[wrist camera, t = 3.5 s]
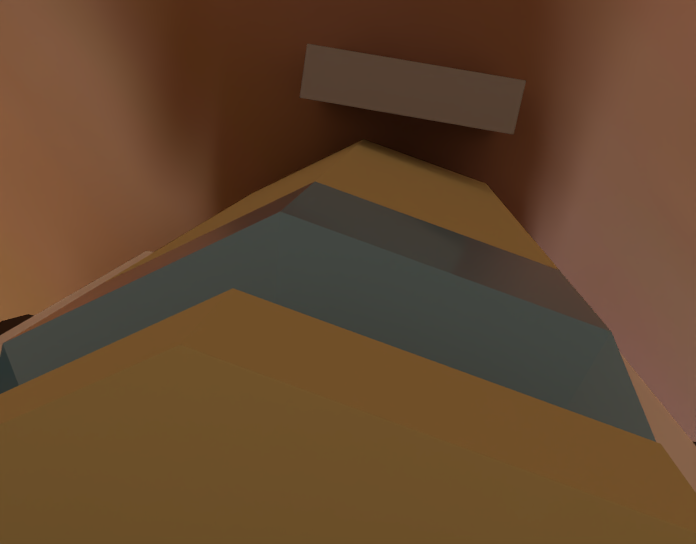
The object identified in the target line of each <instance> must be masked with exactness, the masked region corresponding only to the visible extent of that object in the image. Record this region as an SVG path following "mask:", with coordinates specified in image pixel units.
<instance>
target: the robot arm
mask: <svg viewBox="0 0 696 544" xmlns="http://www.w3.org/2000/svg"><path fill="white" fill-rule="evenodd" d="M152 253H154V252H151V251H145V252H143V253H142V254H140V255H138V256H136V257H135V258H133V259H131V260H130V261H128V262H126V263H124V264H123V265H121V266H119V267H117V268H116V269H114V270H112V271H111V272H109V273H107V274H105V275H104V276H102V277H100V278H98V279H97V280H95V281H93V282H92V283H90V284H88V285H86V286H85V287H83V288H81V289H79V290H78V291H76V292H74V293H73V294H71V295H69V296H67V297H66V298H64V299H62V300H60V301H59V302H57V303H55V304H53V305H52V306H50V307H48V308H47V309H45V310H43V311H41V312H40V313H38V314H36V315H29V314H27V315H24V316H20V317H16V318H12V319H8V320H5V321H2V322H0V354H1V349H2V344H3V343H4V342H6V341H7V340H9V339H11V338H12V337H14V336H16V335H17V334H19V333H21V332H22V331H24V330H26V329H27V328H29V327H31V326H32V325H34V324H36V323H37V322H39V321H40V320H42V319H44V318H45V317H47V316H49V315H50V314H52V313H54V312H55V311H57V310H59V309H60V308H62V307H64V306H65V305H67V304H69V303H70V302H72V301H74V300H75V299H77V298H79V297H80V296H82V295H84V294H85V293H87V292H89V291H90V290H92V289H94V288H95V287H97V286H99V285H100V284H102V283H104V282H105V281H107V280H109V279H110V278H112V277H114V276H115V275H117V274H119V273H120V272H122V271H124V270H125V269H127V268H129V267H130V266H132V265H134V264H135V263H137V262H139V261H140V260H142V259H144V258H145V257H147V256H149V255H150V254H152ZM620 354H621V353H620ZM621 357H622V359H623V362H624V364H625V366H626V369H627V371H628V374H629V376H630V379H631V381H632V384H633V386H634V389H635V391H636V393H637V396H638V398H639V401H640V403H641V406H642V408H643V411H644V413H645V415H646V418H647V420H648V423H649V425H650V428H651V430H652V433H653V435H654V437H655V440H656V442H657V443H660V444H661V445H662V446H663V448H664V449H665V450H666V452H667V453H668V455H669V456H670V457H671V459H672V460H673V462H674V463H675V464H676V466H677V467H678V469H679V470H680V471H681V473H682V474H683V476H684V477H685V478H686V480H687V481H688V483H689V484H690V485H691V487H692V488H693V490H694V491H695V492H696V442H693V441H691V439H690V438H689V437H688V436H687V434H686V433H685V432H684V431H683V430H682V428H681V427H680V426H679V425H678V423H677V422H676V421H675V420H674V418H673V417H672V416H671V415H670V414H669V412H668V411H667V410H666V409H665V407H664V406H663V405H662V404H661V402H660V401H659V400H658V399H657V398H656V396H655V395H654V394H653V393H652V391H651V390H650V389H649V388H648V386H647V385H646V384H645V383H644V382H643V380H642V379H641V378H640V377H639V375H638V374H637V373H636V372H635V370H634V369H633V368H632V367H631V366H630V364H629V363H628V362H627V361H626V359H625V358H624V357H623V356H622V354H621Z"/></svg>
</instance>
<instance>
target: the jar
mask: <svg viewBox="0 0 696 544" xmlns="http://www.w3.org/2000/svg"><path fill="white" fill-rule="evenodd" d="M0 544H696V492H695V491H694V490H693V488H692V487H691V485H690V484H689V483H688V481H687V480H686V478H685V477H684V476H683V474H682V473H681V471H680V470H679V469H678V467H677V466H676V464H675V463H674V462H673V460H672V459H671V457H670V456H669V455H668V453H667V452H666V450H665V449H664V448H663V446H662V445H661V444H660V443H657V442H656V440H655V437H654V435H653V433H652V430H651V428H650V425H649V423H648V420H647V418H646V415H645V413H644V411H643V408H642V406H641V403H640V401H639V398H638V396H637V393H636V391H635V389H634V386H633V384H632V381H631V379H630V376H629V374H628V371H627V369H626V366H625V364H624V362H623V359H622V357H621V354H620V352H619V349H618V347H617V344H616V342H615V340H614V337H613V335H612V332H611V331H610V330H609V328H608V327H607V326H606V325H605V324H604V322H603V321H602V320H601V319H600V318H599V317H598V315H597V314H596V313H595V312H594V311H593V309H592V308H591V307H590V306H589V305H588V304H587V302H586V301H585V300H584V299H583V298H582V296H581V295H580V294H579V293H578V292H577V291H576V289H575V288H574V287H573V286H572V285H571V283H570V282H569V281H568V280H567V279H566V278H565V276H564V275H563V274H562V273H561V272H560V270H559V269H558V268H557V267H556V266H555V265H554V263H553V262H552V261H551V260H550V259H549V257H548V256H547V255H546V254H545V253H544V252H543V250H542V249H541V248H540V247H539V246H538V244H537V243H536V242H535V241H534V240H533V239H532V237H531V236H530V235H529V234H528V233H527V231H526V230H525V229H524V228H523V227H522V226H521V224H520V223H519V222H518V221H517V220H516V218H515V217H514V216H513V215H512V214H511V212H510V211H509V210H508V209H507V208H506V207H505V205H504V204H503V203H502V202H501V201H500V199H499V198H498V197H497V196H496V195H495V194H494V192H493V191H492V190H491V189H490V188H489V186H488V185H487V184H486V183H483V182H480V181H477V180H475V179H472V178H469V177H466V176H464V175H461V174H458V173H455V172H453V171H450V170H447V169H444V168H442V167H439V166H436V165H433V164H431V163H428V162H425V161H422V160H420V159H417V158H414V157H411V156H409V155H406V154H403V153H400V152H398V151H395V150H392V149H389V148H387V147H384V146H381V145H378V144H376V143H373V142H370V141H367V140H365V139H363V140H361V141H359V142H357V143H355V144H353V145H351V146H349V147H347V148H345V149H342V150H340V151H338V152H336V153H334V154H332V155H330V156H328V157H326V158H324V159H322V160H320V161H318V162H316V163H314V164H312V165H310V166H307V167H305V168H303V169H301V170H299V171H297V172H295V173H293V174H291V175H289V176H287V177H285V178H283V179H281V180H279V181H277V182H275V183H272V184H270V185H268V186H266V187H264V188H262V189H260V190H258V191H256V192H254V193H252V194H250V195H248V196H247V197H245V198H243V199H242V200H240V201H238V202H237V203H235V204H233V205H232V206H230V207H228V208H227V209H225V210H223V211H222V212H220V213H218V214H217V215H215V216H213V217H212V218H210V219H208V220H207V221H205V222H203V223H202V224H200V225H198V226H197V227H195V228H194V229H192V230H190V231H189V232H187V233H185V234H184V235H182V236H180V237H179V238H177V239H175V240H174V241H172V242H170V243H169V244H167V245H165V246H164V247H162V248H160V249H159V250H157V251H155V252H154V253H152V254H150V255H149V256H147V257H145V258H144V259H142V260H140V261H139V262H137V263H135V264H134V265H132V266H130V267H129V268H127V269H125V270H124V271H122V272H120V273H119V274H117V275H115V276H114V277H112V278H110V279H109V280H107V281H105V282H104V283H102V284H100V285H99V286H97V287H95V288H94V289H92V290H90V291H89V292H87V293H85V294H84V295H82V296H80V297H79V298H77V299H75V300H74V301H72V302H70V303H69V304H67V305H65V306H64V307H62V308H60V309H59V310H57V311H55V312H54V313H52V314H50V315H49V316H47V317H45V318H44V319H42V320H40V321H39V322H37V323H36V324H34V325H32V326H31V327H29V328H27V329H26V330H24V331H22V332H21V333H19V334H17V335H16V336H14V337H12V338H11V339H9V340H7V341H6V342H4V343H3V344H2V349H1V354H0Z"/></svg>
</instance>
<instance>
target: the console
mask: <svg viewBox="0 0 696 544" xmlns="http://www.w3.org/2000/svg"><path fill="white" fill-rule="evenodd" d="M525 83H526V80H520V79H514V78H508V77H502V76H496V75H491V74H485V73H479V72H473V71H467V70H461V69H455V68H449V67H443V66H437V65H431V64H425V63H419V62H414V61H408V60H402V59H396V58H390V57H384V56H378V55H372V54H366V53H360V52H354V51H348V50H342V49H337V48H331V47H325V46H319V45H313V44H307V48H306V55H305V62H304V70H303V77H302V84H301V91H300V98H305V99H311V100H317V101H323V102H328V103H334V104H340V105H346V106H352V107H357V108H363V109H369V110H375V111H380V112H386V113H392V114H398V115H403V116H409V117H415V118H421V119H427V120H432V121H438V122H444V123H450V124H455V125H461V126H467V127H473V128H479V129H484V130H490V131H496V132H502V133H507V134H513V135H514V131H515V126H516V122H517V118H518V113H519V109H520V105H521V100H522V96H523V92H524V87H525Z"/></svg>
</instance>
